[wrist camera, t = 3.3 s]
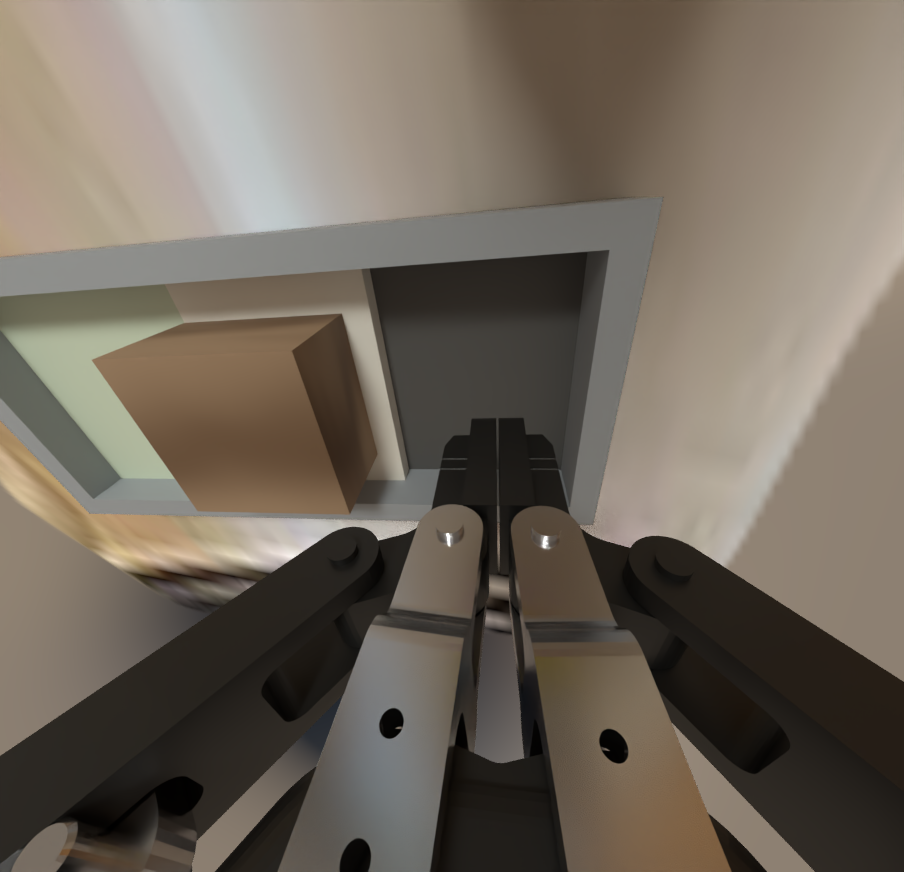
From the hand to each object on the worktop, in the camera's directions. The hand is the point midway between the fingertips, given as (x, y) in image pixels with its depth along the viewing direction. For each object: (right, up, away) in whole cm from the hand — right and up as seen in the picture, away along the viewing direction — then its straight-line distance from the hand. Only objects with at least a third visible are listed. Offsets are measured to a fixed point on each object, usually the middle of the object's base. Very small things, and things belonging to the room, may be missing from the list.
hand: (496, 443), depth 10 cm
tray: (-8, +2, +4) cm, 9 cm away
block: (-8, +2, +3) cm, 9 cm away
